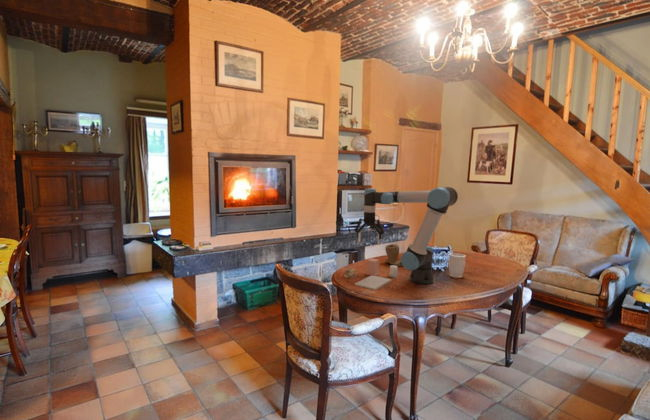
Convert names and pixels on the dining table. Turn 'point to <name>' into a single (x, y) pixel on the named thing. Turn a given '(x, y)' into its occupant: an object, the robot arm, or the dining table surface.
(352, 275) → the olive rounded lump
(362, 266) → the dining table surface
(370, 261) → the coral block
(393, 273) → the off-white cylinder
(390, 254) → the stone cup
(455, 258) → the jar
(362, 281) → the grey mat
